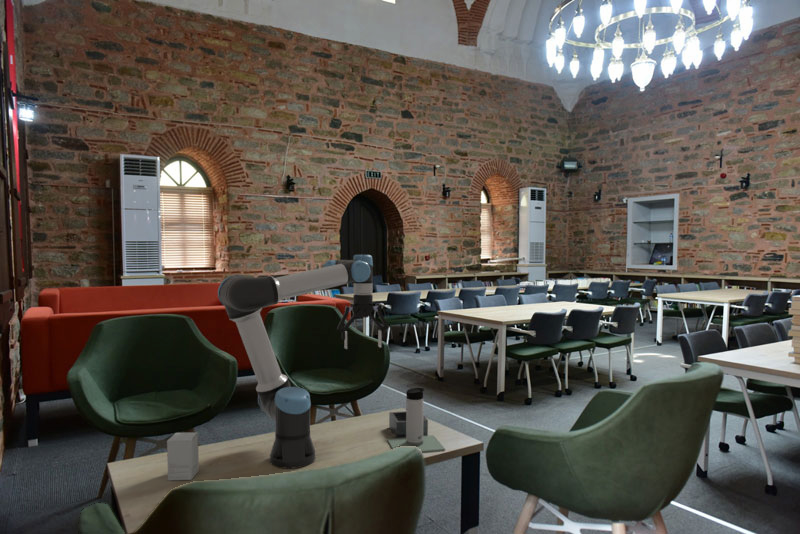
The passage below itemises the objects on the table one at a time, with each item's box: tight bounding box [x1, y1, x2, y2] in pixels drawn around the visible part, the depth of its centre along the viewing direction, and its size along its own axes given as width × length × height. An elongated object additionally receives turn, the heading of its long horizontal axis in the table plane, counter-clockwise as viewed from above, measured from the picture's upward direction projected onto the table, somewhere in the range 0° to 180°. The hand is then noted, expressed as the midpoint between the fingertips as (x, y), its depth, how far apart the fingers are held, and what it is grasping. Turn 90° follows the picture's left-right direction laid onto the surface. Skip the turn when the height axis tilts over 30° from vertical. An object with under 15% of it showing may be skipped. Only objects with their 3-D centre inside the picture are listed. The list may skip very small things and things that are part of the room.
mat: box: [387, 434, 446, 453], centre depth 191 cm, size 18×14×1 cm
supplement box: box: [166, 431, 200, 481], centre depth 165 cm, size 7×7×13 cm
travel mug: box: [405, 387, 425, 446], centre depth 192 cm, size 6×7×20 cm
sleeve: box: [388, 410, 429, 438], centre depth 206 cm, size 12×12×6 cm
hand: (362, 347), depth 206 cm, fingers open, 13 cm apart
